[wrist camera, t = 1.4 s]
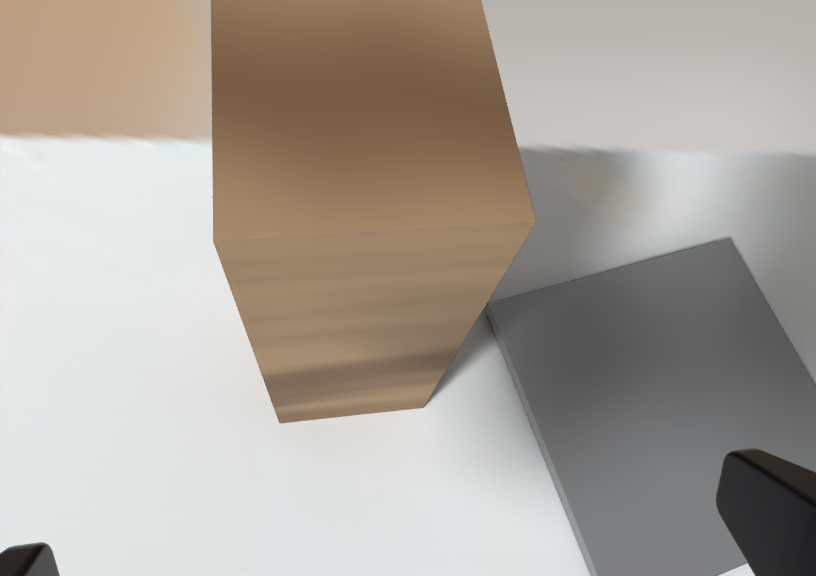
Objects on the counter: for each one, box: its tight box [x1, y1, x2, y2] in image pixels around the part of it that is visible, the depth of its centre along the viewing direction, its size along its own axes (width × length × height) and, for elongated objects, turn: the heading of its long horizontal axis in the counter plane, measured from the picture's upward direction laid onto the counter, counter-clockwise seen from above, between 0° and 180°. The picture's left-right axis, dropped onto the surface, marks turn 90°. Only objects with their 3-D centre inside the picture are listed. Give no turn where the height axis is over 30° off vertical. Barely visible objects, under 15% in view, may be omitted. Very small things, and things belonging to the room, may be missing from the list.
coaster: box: [485, 238, 816, 576], centre depth 22 cm, size 11×11×1 cm
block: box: [211, 0, 536, 423], centre depth 16 cm, size 5×5×13 cm
